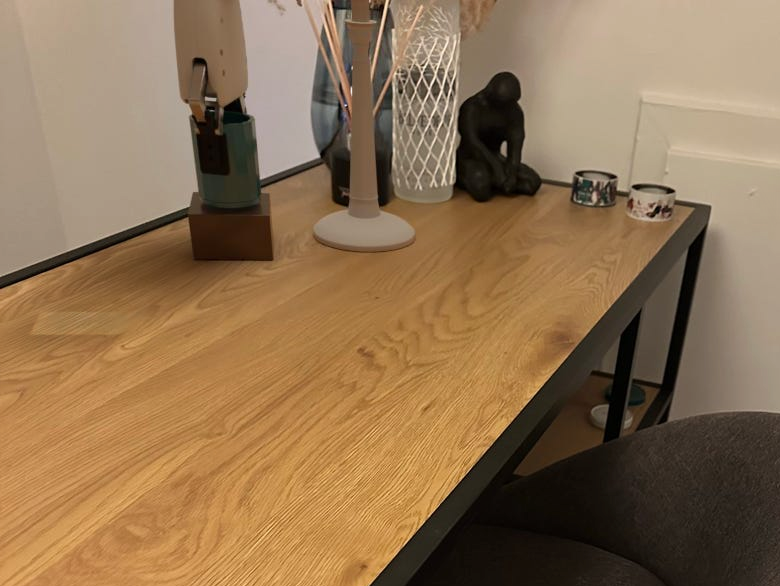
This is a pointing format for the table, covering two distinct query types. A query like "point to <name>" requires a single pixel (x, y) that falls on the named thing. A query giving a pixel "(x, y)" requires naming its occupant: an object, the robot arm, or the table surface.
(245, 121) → the cup
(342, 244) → the candlestick
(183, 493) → the table surface
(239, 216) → the block
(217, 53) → the robot arm
